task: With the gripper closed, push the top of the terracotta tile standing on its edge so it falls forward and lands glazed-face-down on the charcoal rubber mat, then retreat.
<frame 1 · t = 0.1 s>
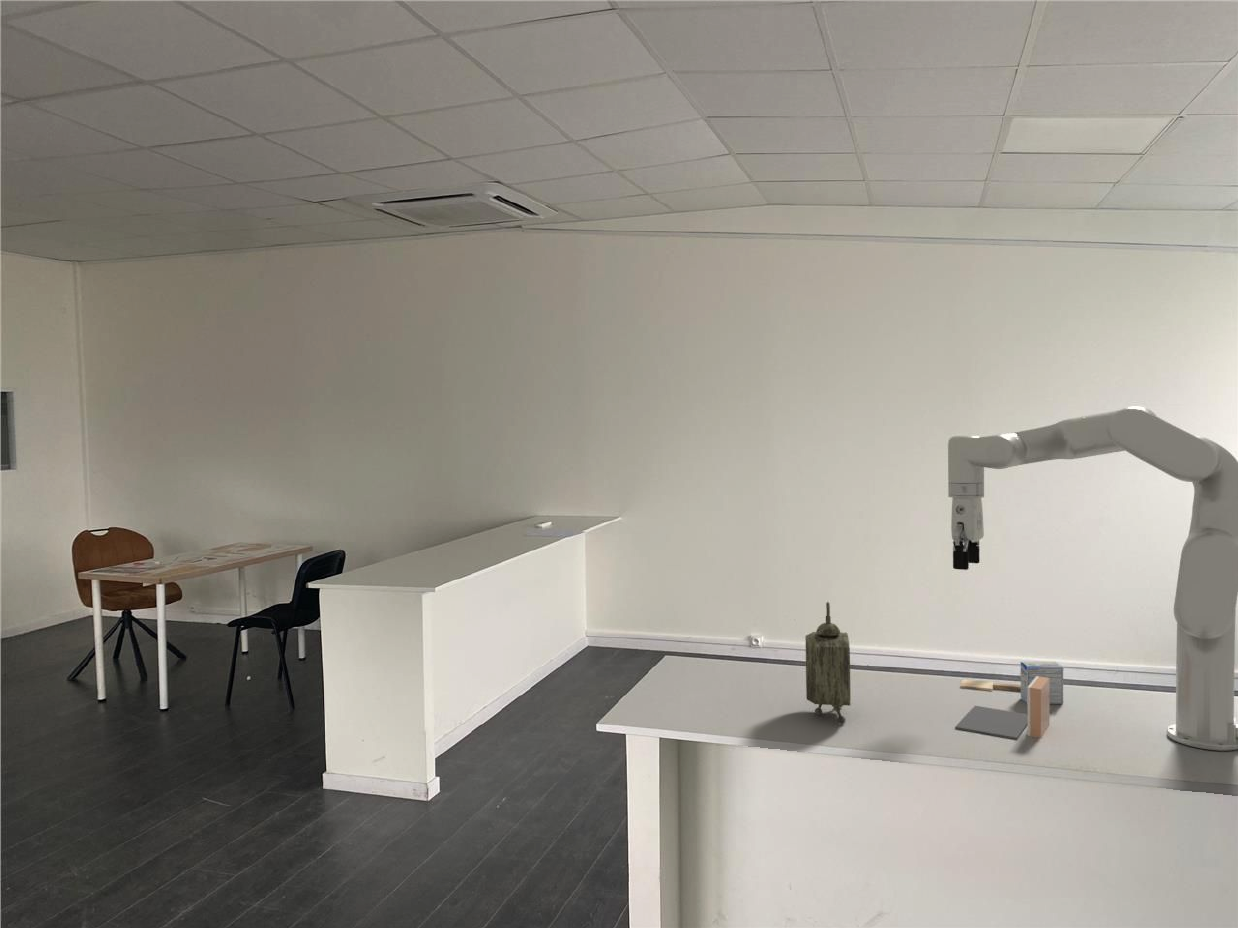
hand: (966, 565, 198), 31 cm above the table, fingers open, 9 cm apart
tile: (1038, 730, 181), on the table
mat: (994, 722, 186), on the table
medicine box: (1041, 702, 199), on the table
tabletop clock: (827, 716, 193), on the table
beech turner: (995, 688, 209), on the table
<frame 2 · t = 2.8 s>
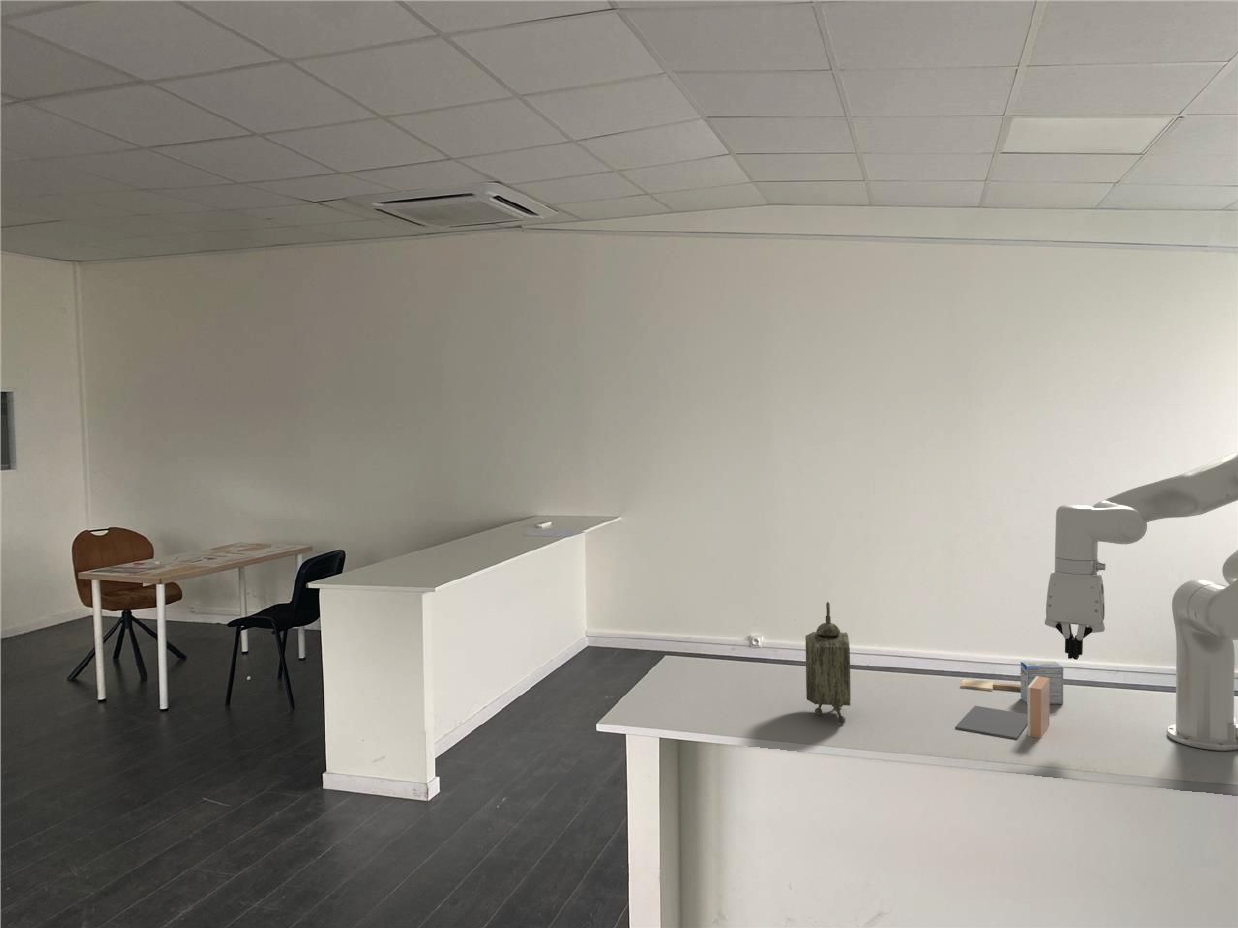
hand: (1073, 657, 176), 16 cm above the table, fingers closed
nothing on the table moved.
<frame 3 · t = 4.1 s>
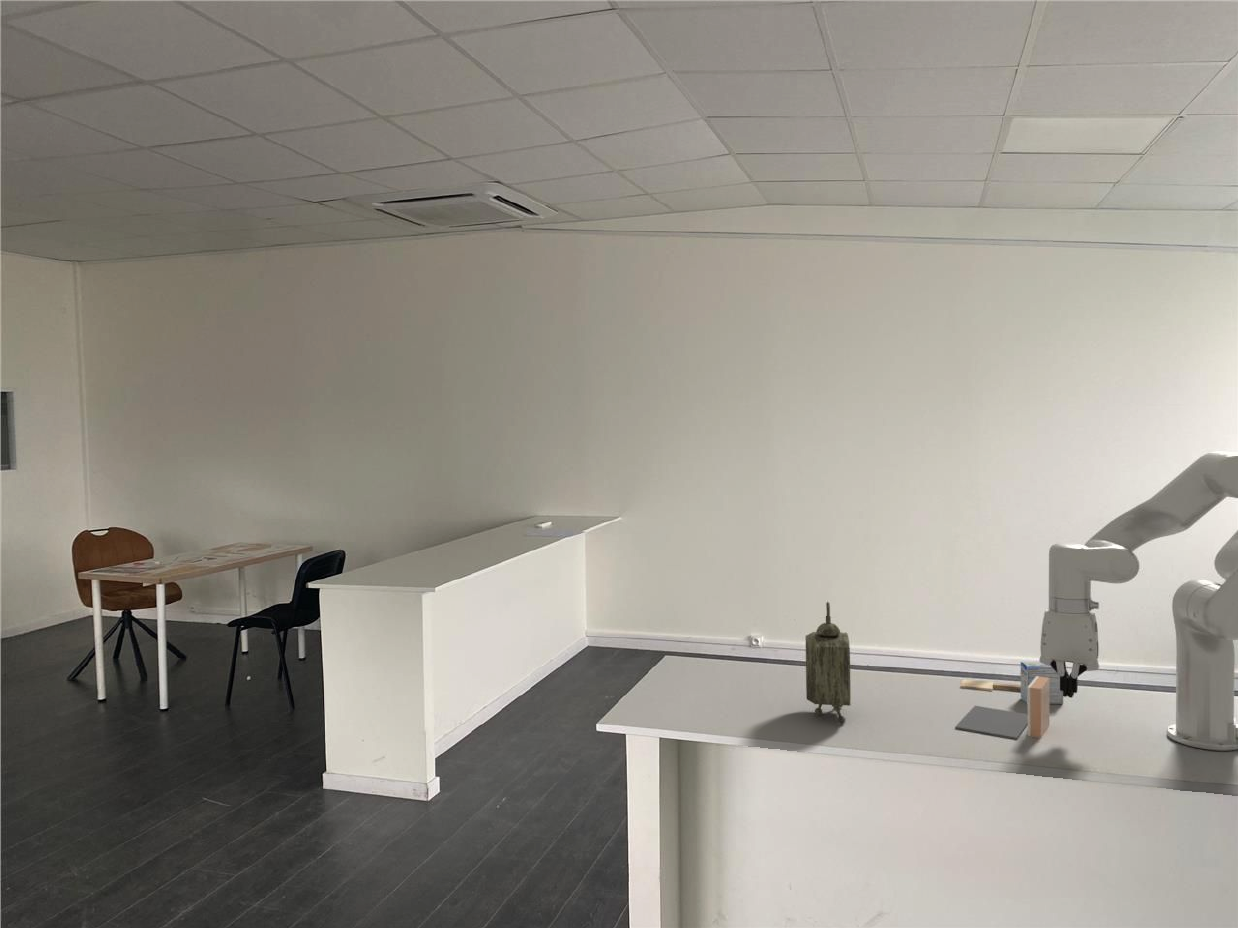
hand: (1068, 695, 177), 8 cm above the table, fingers closed
nothing on the table moved.
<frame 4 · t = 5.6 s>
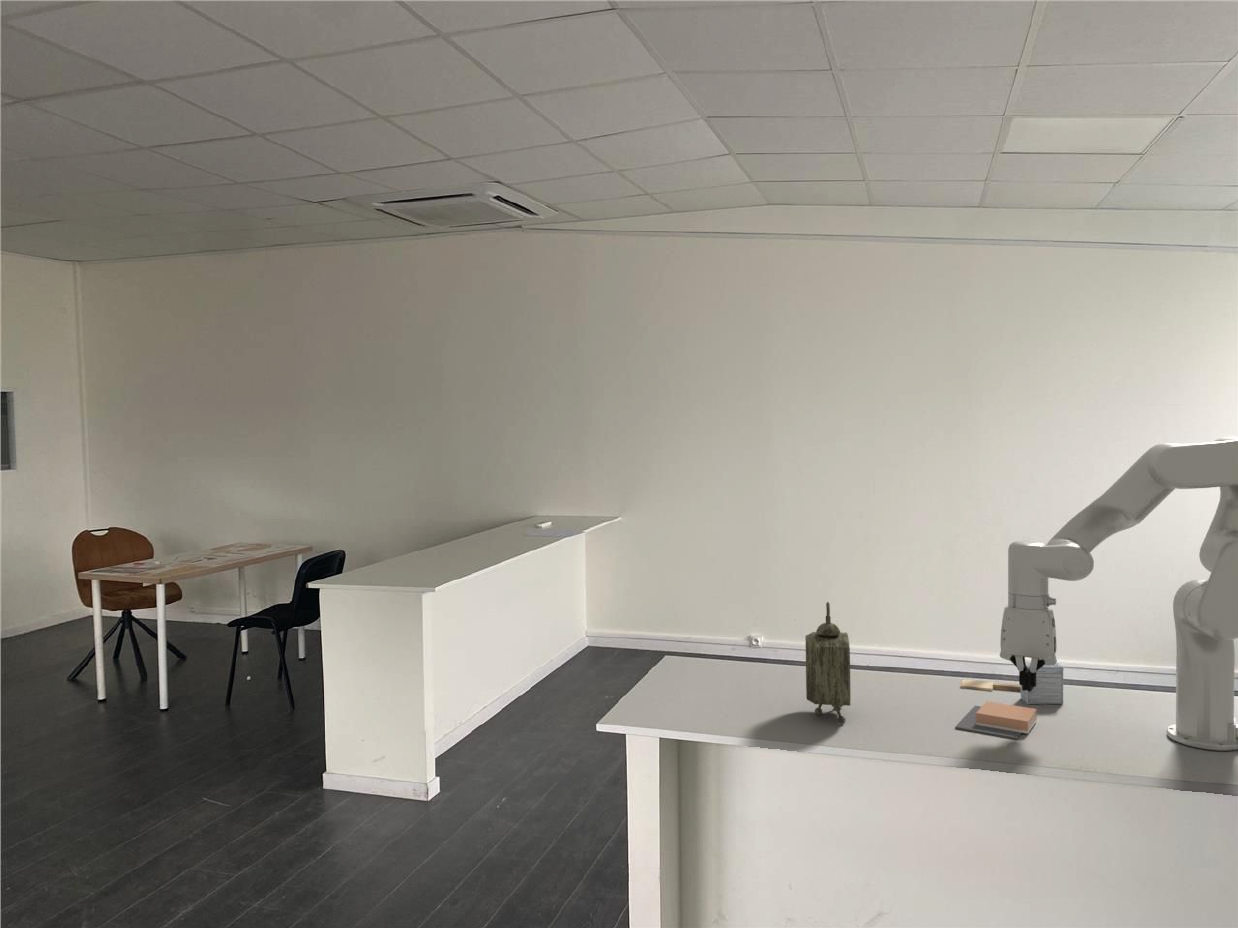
hand: (1027, 689, 181), 8 cm above the table, fingers closed
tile: (1032, 721, 181), point 2 cm above the table, tilted 90°, touching mat
everything else where it was.
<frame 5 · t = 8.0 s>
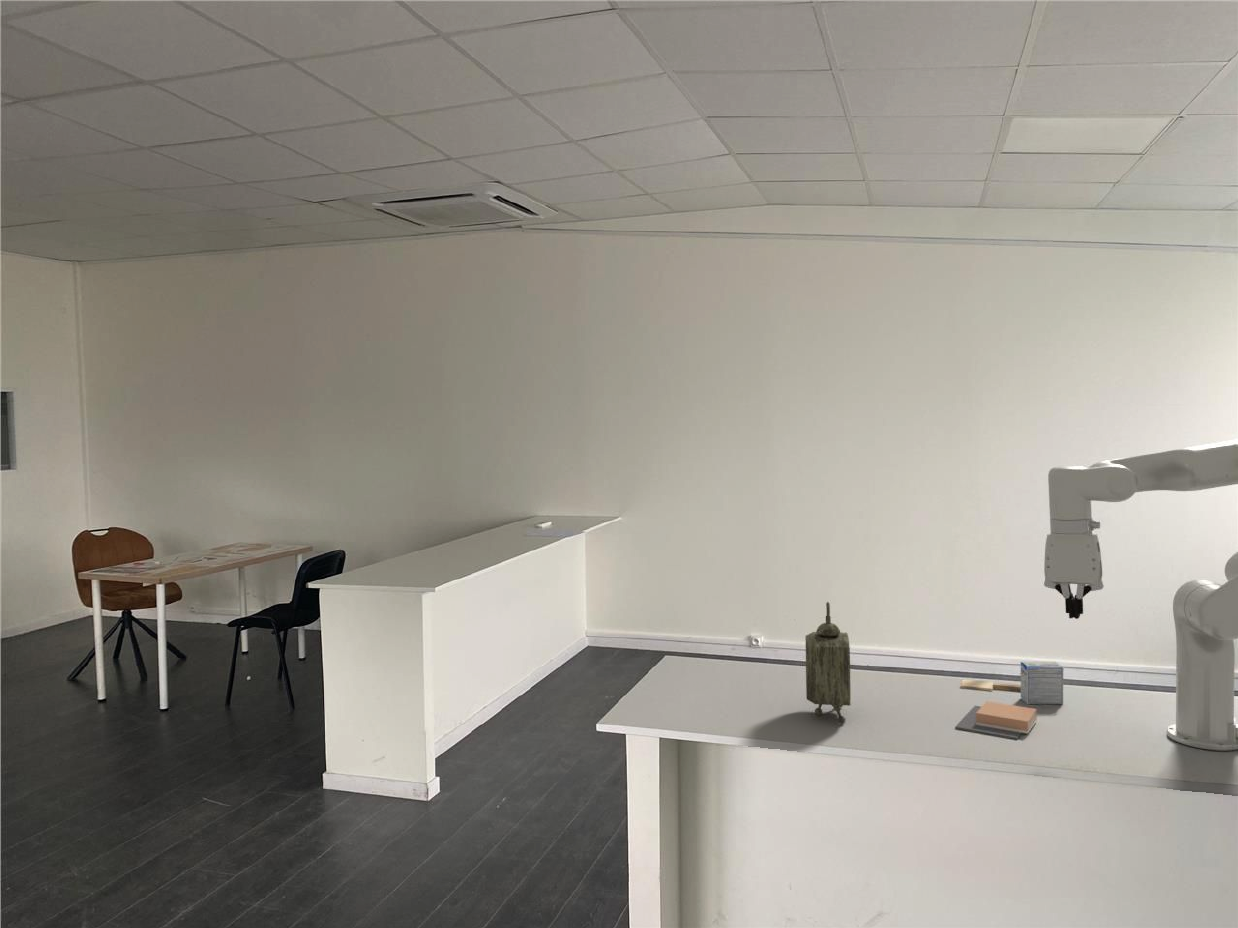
hand: (1074, 616, 178), 24 cm above the table, fingers closed
nothing on the table moved.
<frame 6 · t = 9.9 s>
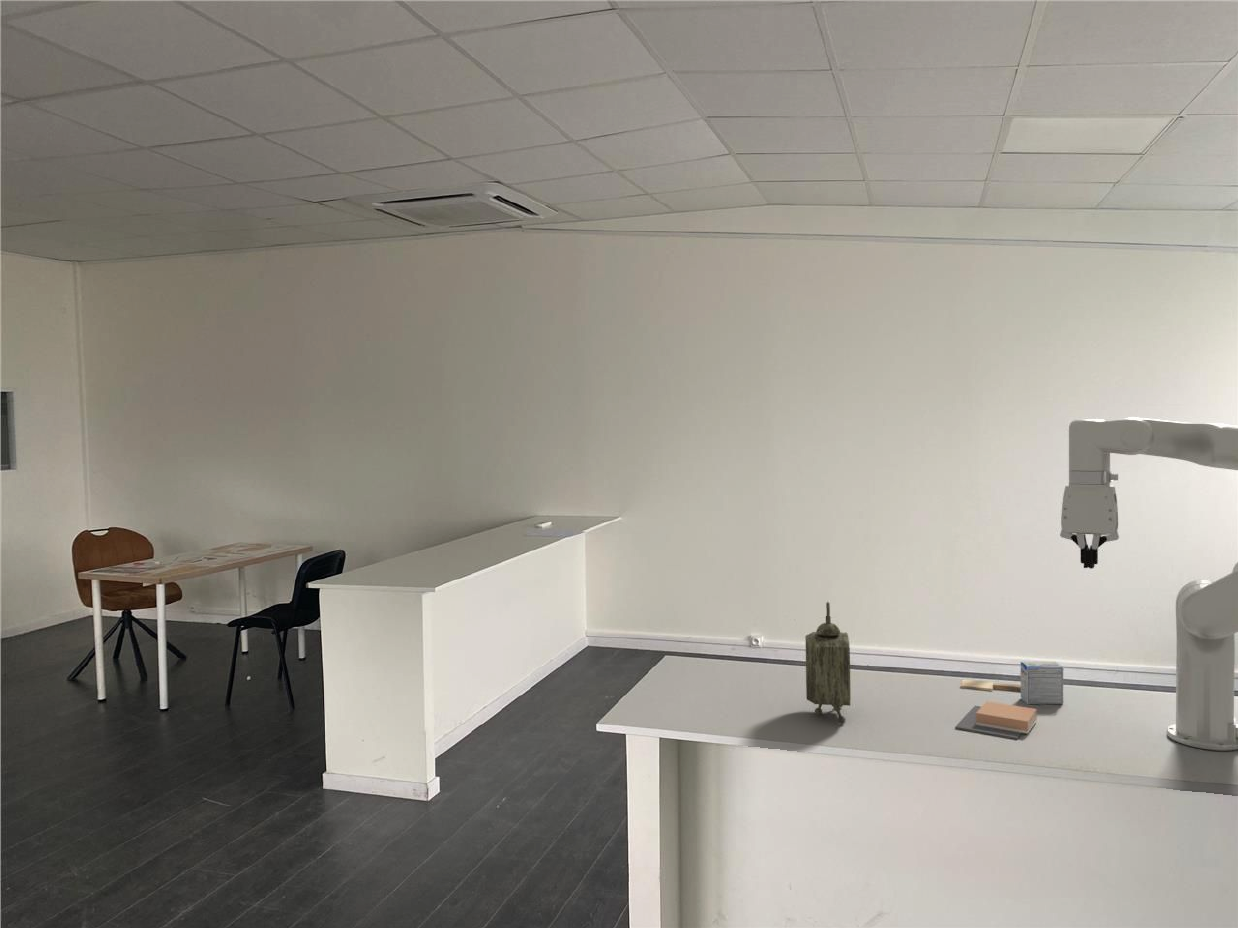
hand: (1089, 567, 182), 33 cm above the table, fingers closed
nothing on the table moved.
at the end: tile tilted 90°; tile inside the target area (6.3 cm from its centre), point 1.6 cm above the table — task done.
